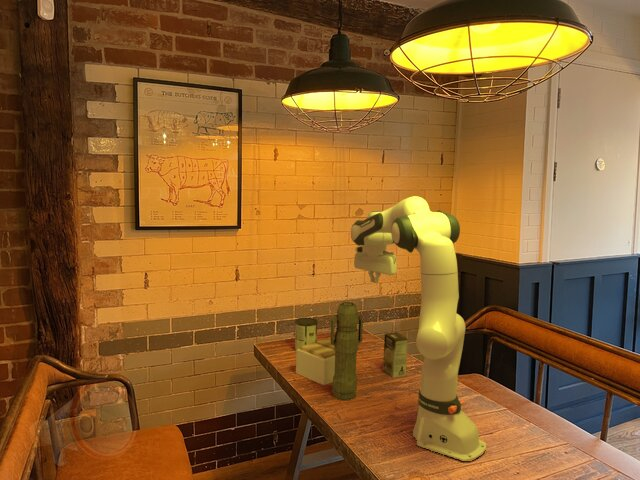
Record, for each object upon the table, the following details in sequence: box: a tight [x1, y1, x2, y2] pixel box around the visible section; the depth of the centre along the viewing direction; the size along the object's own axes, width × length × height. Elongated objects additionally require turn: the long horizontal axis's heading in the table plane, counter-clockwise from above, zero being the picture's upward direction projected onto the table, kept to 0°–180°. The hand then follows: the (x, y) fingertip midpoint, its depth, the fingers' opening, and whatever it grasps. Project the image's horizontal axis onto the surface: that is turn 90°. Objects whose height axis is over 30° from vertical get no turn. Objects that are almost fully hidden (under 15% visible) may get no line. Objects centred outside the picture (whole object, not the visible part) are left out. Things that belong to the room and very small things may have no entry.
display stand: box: [295, 349, 335, 386], centre depth 202 cm, size 16×18×10 cm
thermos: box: [330, 301, 364, 401], centre depth 180 cm, size 9×12×35 cm
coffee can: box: [294, 317, 318, 352], centre depth 228 cm, size 10×10×14 cm
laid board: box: [300, 342, 335, 359], centre depth 198 cm, size 14×8×2 cm, turn 46°
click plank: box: [316, 337, 334, 349], centre depth 204 cm, size 14×7×1 cm, turn 46°
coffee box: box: [382, 331, 409, 379], centre depth 204 cm, size 9×6×16 cm
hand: (374, 282), depth 206 cm, fingers closed
